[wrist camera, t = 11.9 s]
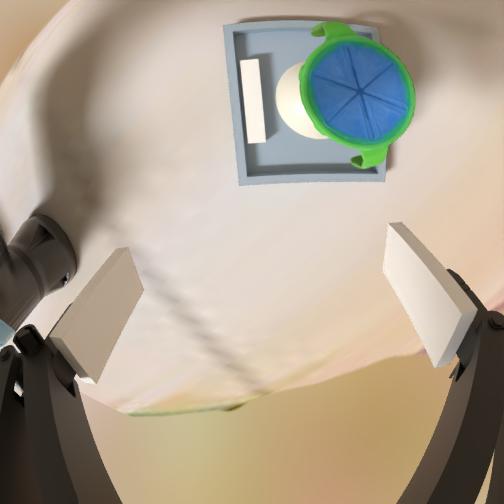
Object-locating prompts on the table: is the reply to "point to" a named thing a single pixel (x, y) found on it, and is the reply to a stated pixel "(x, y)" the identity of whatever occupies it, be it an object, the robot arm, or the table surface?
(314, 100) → the snack cup
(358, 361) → the table surface
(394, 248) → the robot arm
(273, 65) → the meal tray
